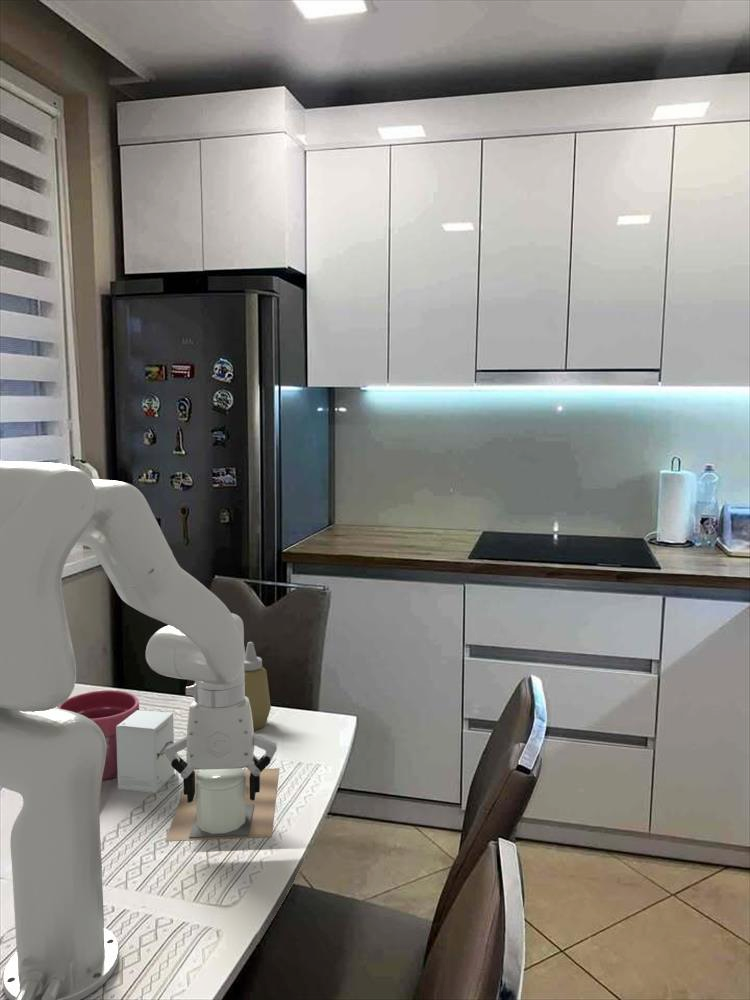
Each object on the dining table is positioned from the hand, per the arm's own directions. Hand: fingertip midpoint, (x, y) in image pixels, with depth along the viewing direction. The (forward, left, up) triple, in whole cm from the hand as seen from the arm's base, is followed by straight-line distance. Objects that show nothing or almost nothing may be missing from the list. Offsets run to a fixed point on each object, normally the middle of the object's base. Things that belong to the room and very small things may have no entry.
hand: (222, 797), depth 116 cm
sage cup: (0, 0, -4) cm, 4 cm away
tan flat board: (+6, 0, -5) cm, 8 cm away
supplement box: (+14, +15, -6) cm, 21 cm away
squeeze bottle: (+39, -1, -5) cm, 39 cm away
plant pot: (+21, +25, -5) cm, 33 cm away
